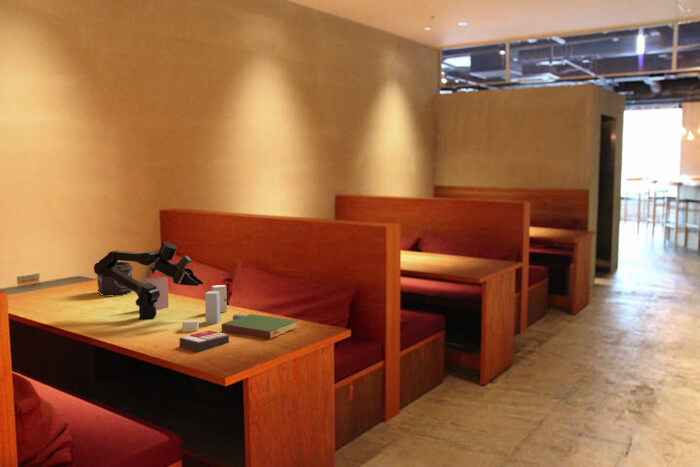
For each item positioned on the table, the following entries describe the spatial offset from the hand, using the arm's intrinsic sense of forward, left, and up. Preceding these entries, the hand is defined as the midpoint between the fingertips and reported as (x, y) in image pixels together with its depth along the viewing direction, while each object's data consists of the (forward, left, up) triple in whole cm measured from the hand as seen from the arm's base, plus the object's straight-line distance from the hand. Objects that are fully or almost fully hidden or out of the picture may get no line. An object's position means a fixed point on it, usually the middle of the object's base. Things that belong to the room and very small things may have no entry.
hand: (200, 284), depth 267 cm
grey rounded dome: (+17, -8, -16) cm, 24 cm away
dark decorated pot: (-52, +64, -16) cm, 84 cm away
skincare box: (+7, +13, -16) cm, 21 cm away
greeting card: (-23, +21, -16) cm, 35 cm away
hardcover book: (+26, -23, -16) cm, 38 cm away
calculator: (+6, -40, -16) cm, 44 cm away
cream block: (-2, -18, -16) cm, 24 cm away
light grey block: (+6, -6, -16) cm, 18 cm away
